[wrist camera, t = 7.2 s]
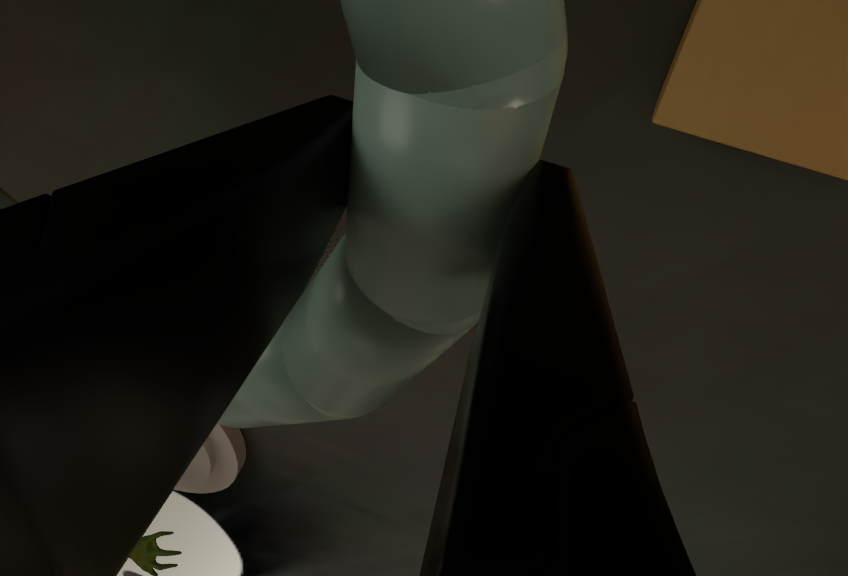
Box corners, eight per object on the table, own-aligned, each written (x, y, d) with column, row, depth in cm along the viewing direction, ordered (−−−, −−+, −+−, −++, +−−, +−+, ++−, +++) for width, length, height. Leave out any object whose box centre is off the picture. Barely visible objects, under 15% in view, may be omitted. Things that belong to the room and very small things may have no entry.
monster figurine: (138, 479, 43) (14, 655, 37) (-15, 332, 37) (-199, 509, 30) (290, 480, 37) (175, 694, 30) (135, 303, 31) (-55, 519, 24)
